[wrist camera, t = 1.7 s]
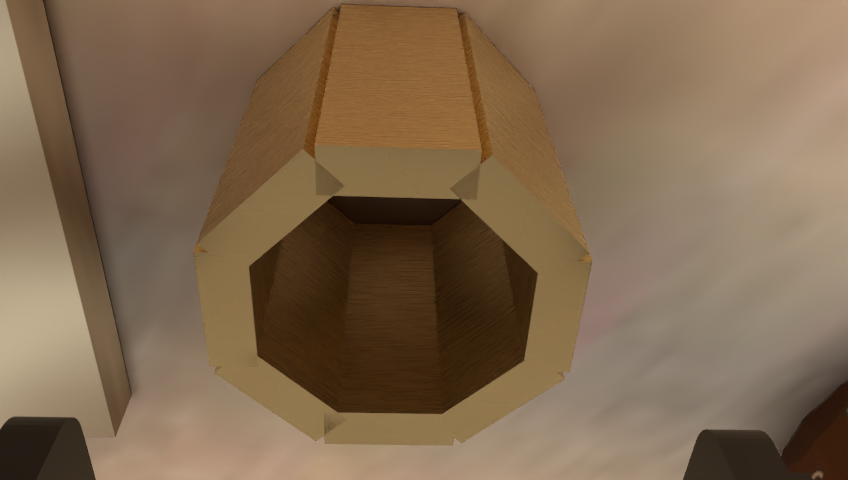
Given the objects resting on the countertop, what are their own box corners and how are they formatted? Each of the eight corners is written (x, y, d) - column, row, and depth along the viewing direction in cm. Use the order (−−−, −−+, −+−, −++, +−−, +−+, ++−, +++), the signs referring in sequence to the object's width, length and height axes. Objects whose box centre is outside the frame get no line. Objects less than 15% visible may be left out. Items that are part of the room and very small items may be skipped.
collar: (247, 0, 16) (177, 141, 11) (548, 12, 16) (614, 153, 11) (267, 248, 19) (220, 442, 14) (515, 255, 19) (554, 446, 14)
